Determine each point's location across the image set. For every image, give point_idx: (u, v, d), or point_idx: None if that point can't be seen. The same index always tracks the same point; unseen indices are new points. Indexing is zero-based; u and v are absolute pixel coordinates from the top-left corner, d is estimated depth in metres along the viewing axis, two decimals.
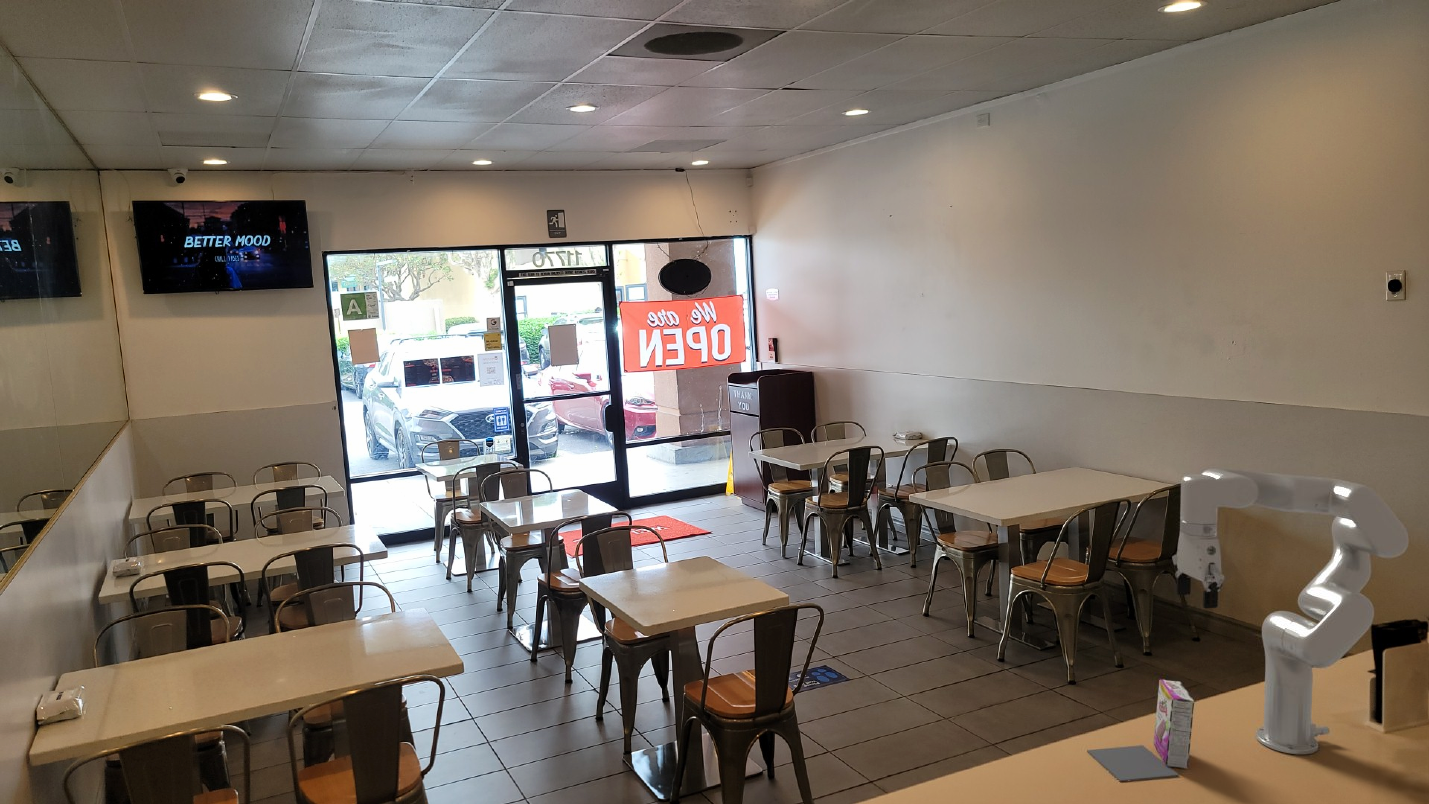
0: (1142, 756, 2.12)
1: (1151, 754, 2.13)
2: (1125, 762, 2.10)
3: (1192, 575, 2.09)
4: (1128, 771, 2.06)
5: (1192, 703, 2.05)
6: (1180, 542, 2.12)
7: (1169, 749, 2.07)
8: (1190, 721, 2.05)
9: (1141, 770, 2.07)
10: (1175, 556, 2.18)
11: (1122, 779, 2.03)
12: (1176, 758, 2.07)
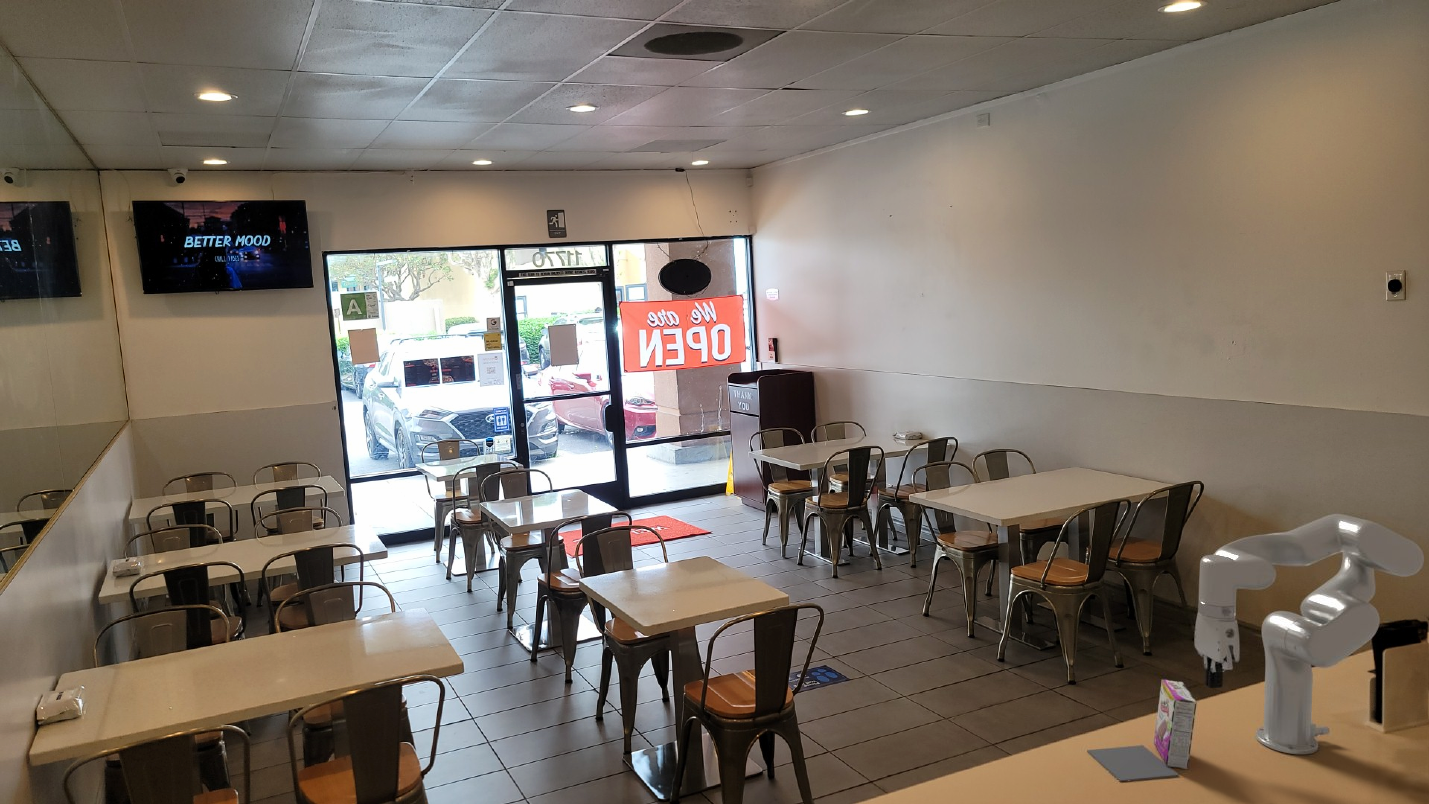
0: (1142, 756, 2.12)
1: (1151, 754, 2.13)
2: (1125, 762, 2.10)
3: (1210, 656, 2.09)
4: (1128, 771, 2.06)
5: (1194, 704, 2.05)
6: (1198, 622, 2.13)
7: (1170, 749, 2.07)
8: (1192, 722, 2.05)
9: (1141, 770, 2.07)
10: None
11: (1122, 779, 2.03)
12: (1176, 758, 2.07)
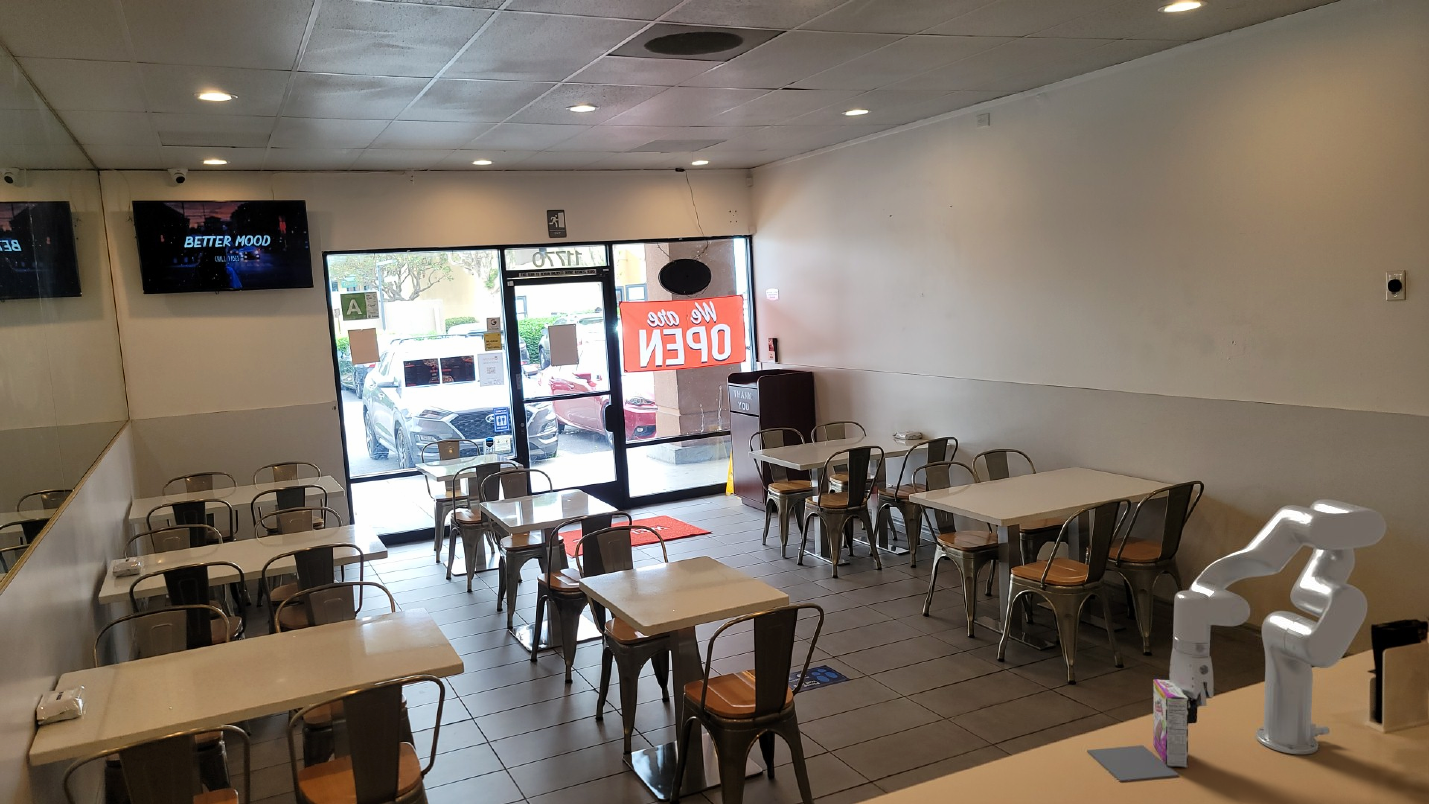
0: (1142, 756, 2.12)
1: (1151, 754, 2.13)
2: (1125, 762, 2.10)
3: (1184, 692, 2.10)
4: (1128, 771, 2.06)
5: (1186, 700, 2.05)
6: (1173, 657, 2.13)
7: (1168, 748, 2.07)
8: (1186, 718, 2.06)
9: (1141, 770, 2.07)
10: None
11: (1122, 779, 2.03)
12: (1175, 757, 2.07)
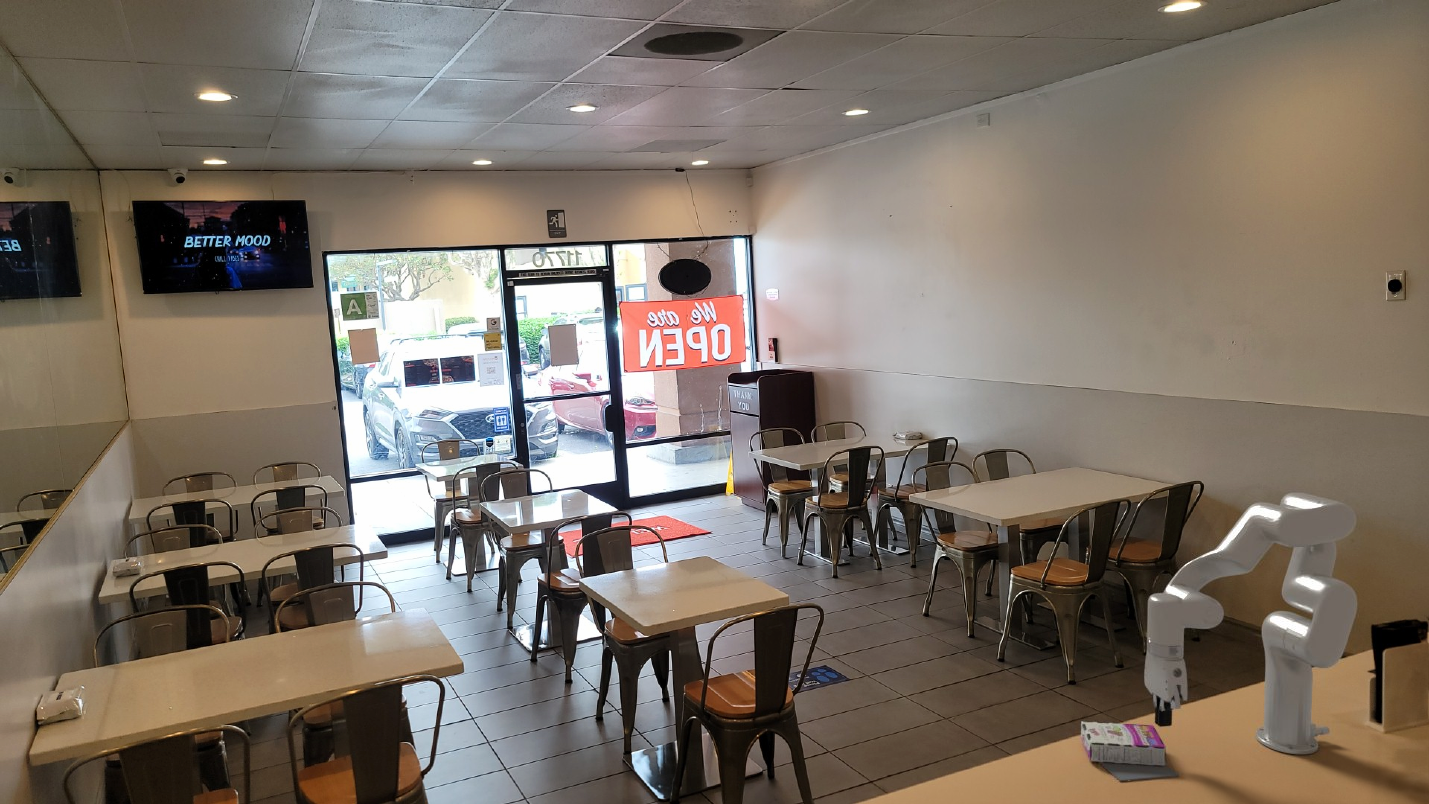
0: None
1: None
2: None
3: (1159, 695, 2.09)
4: (1128, 771, 2.06)
5: (1092, 744, 2.10)
6: (1147, 660, 2.12)
7: (1145, 763, 2.08)
8: (1112, 746, 2.09)
9: (1141, 770, 2.07)
10: None
11: (1122, 779, 2.03)
12: (1155, 757, 2.08)
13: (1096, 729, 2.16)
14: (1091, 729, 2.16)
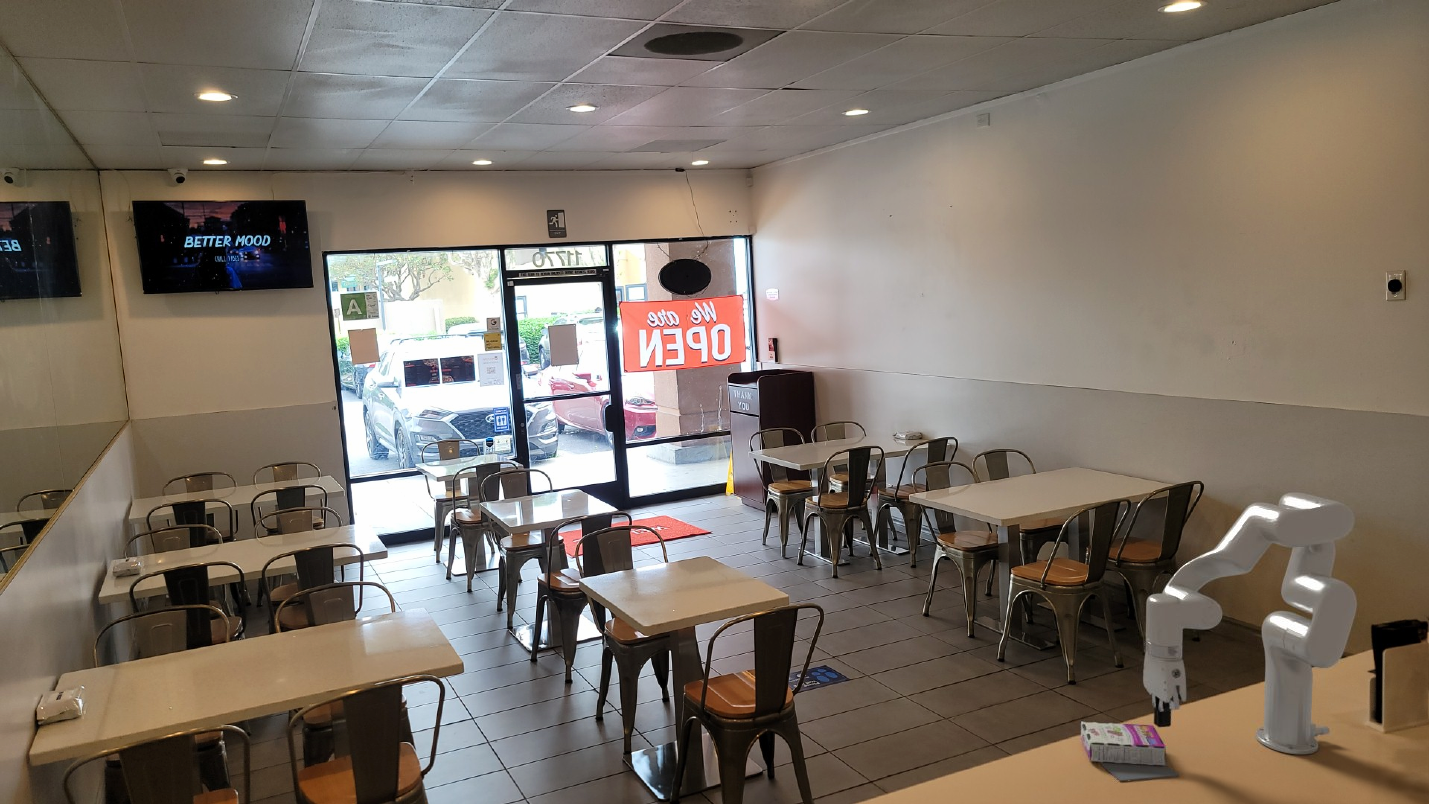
0: None
1: None
2: None
3: (1157, 696, 2.09)
4: (1128, 771, 2.06)
5: (1092, 744, 2.10)
6: (1146, 661, 2.12)
7: (1145, 763, 2.08)
8: (1112, 746, 2.09)
9: (1141, 770, 2.07)
10: None
11: (1122, 779, 2.03)
12: (1155, 757, 2.08)
13: (1096, 730, 2.16)
14: (1091, 729, 2.16)
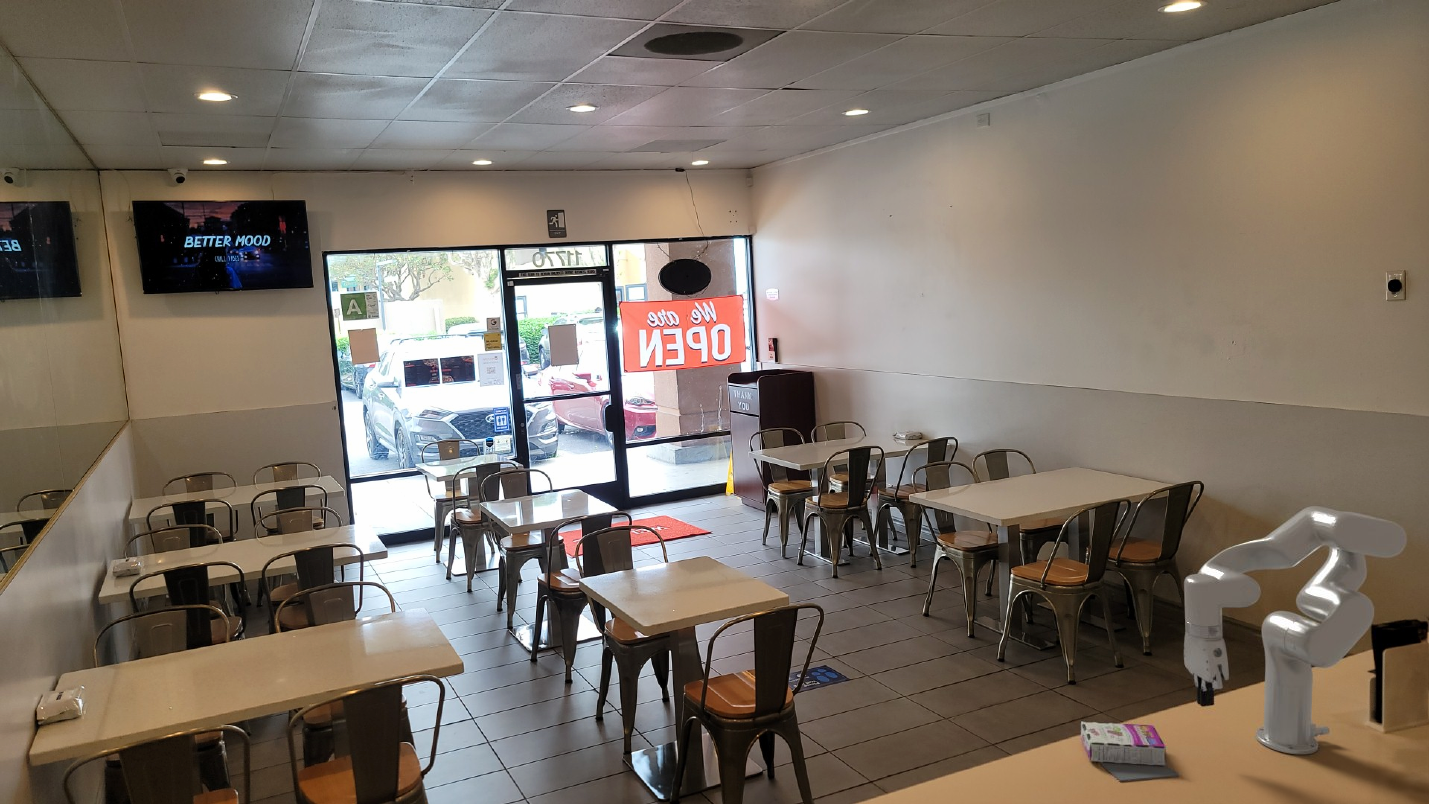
0: None
1: None
2: None
3: (1200, 675, 2.10)
4: (1128, 771, 2.06)
5: (1092, 744, 2.10)
6: (1186, 641, 2.13)
7: (1145, 763, 2.08)
8: (1112, 746, 2.09)
9: (1141, 770, 2.07)
10: None
11: (1122, 779, 2.03)
12: (1155, 757, 2.08)
13: (1096, 730, 2.16)
14: (1091, 729, 2.16)
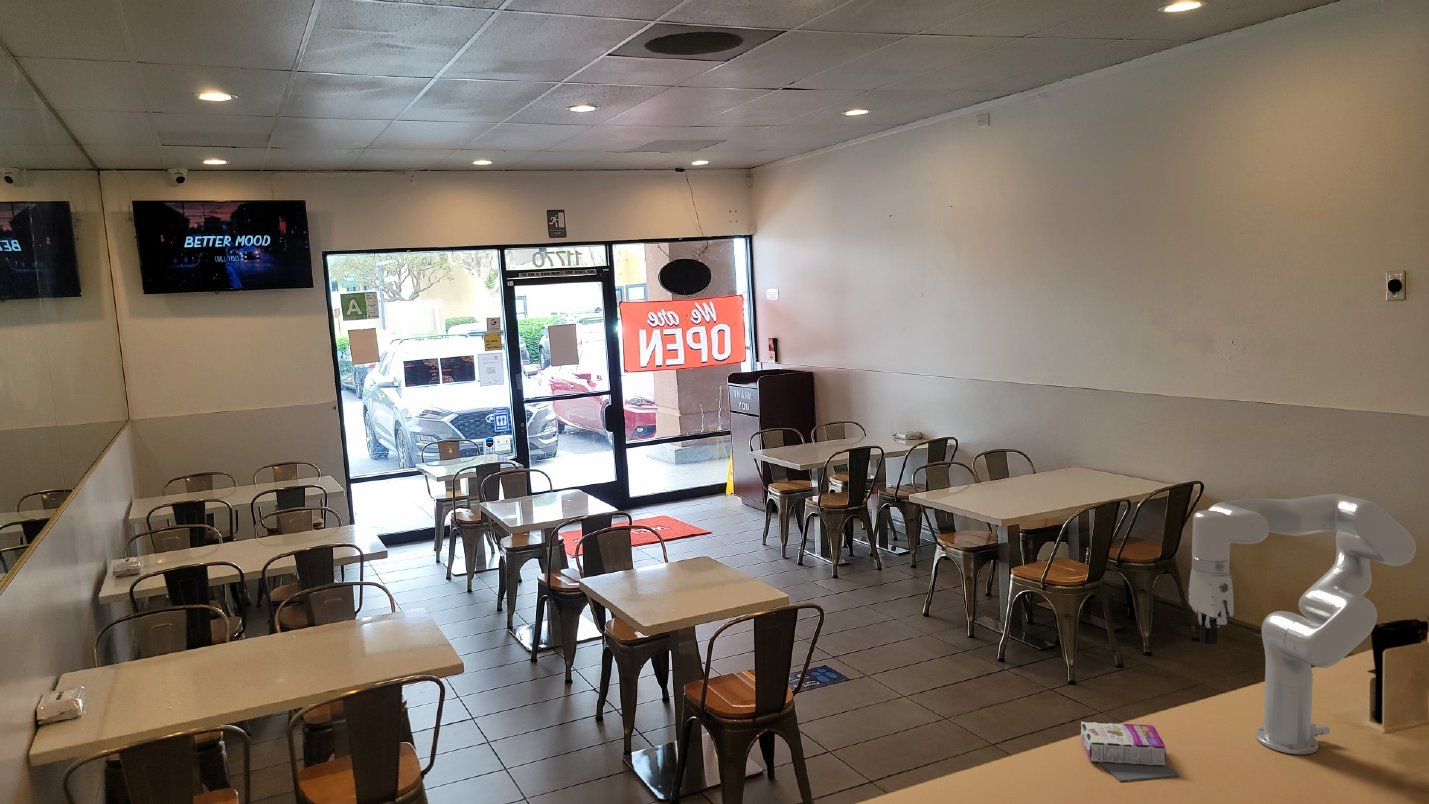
0: None
1: None
2: None
3: (1204, 612, 2.08)
4: (1128, 771, 2.06)
5: (1092, 744, 2.10)
6: (1192, 578, 2.12)
7: (1145, 763, 2.08)
8: (1112, 746, 2.09)
9: (1141, 770, 2.07)
10: None
11: (1122, 779, 2.03)
12: (1155, 757, 2.08)
13: (1096, 730, 2.16)
14: (1091, 729, 2.16)
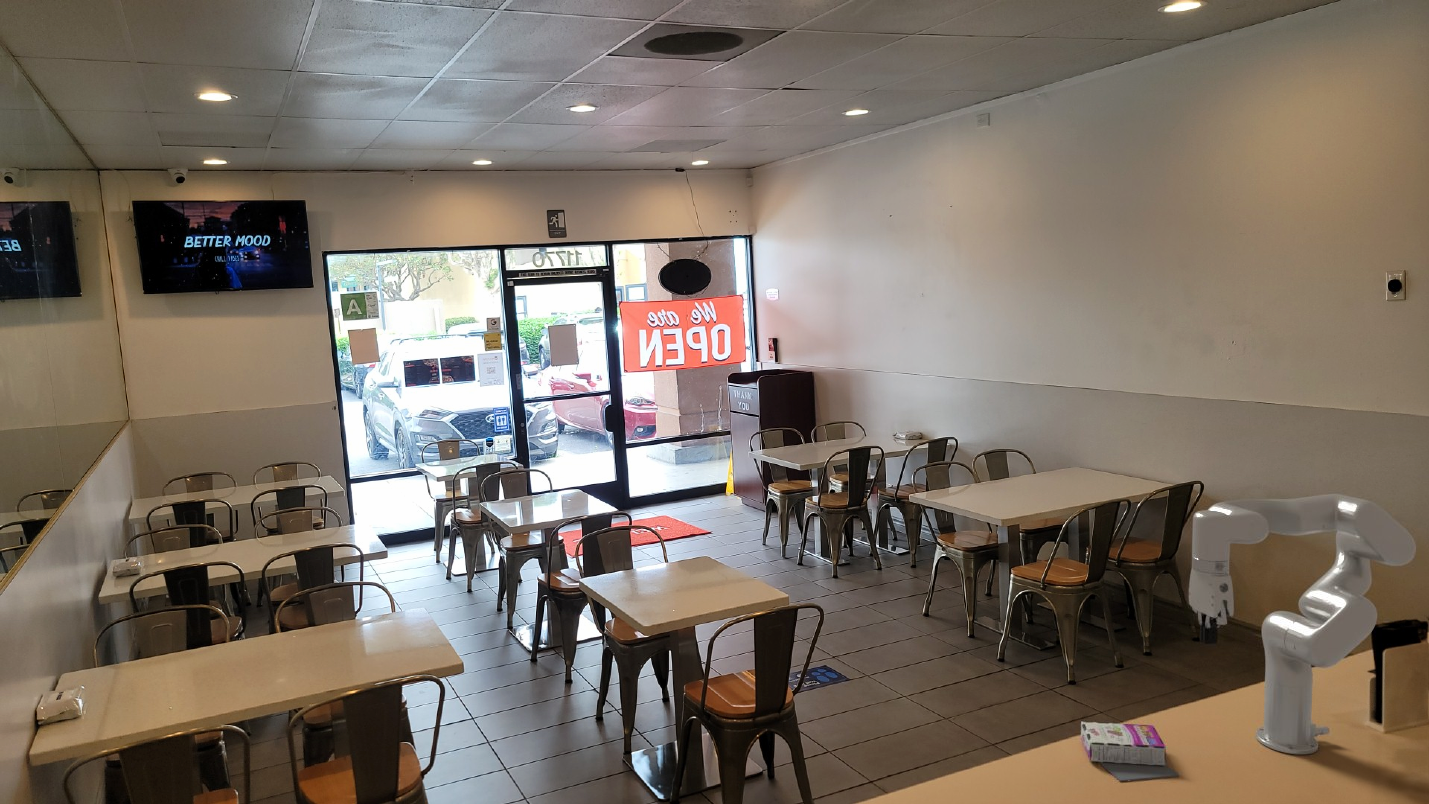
0: None
1: None
2: None
3: (1204, 612, 2.08)
4: (1128, 771, 2.06)
5: (1092, 744, 2.10)
6: (1192, 578, 2.12)
7: (1145, 763, 2.08)
8: (1112, 746, 2.09)
9: (1141, 770, 2.07)
10: None
11: (1122, 779, 2.03)
12: (1155, 757, 2.08)
13: (1096, 730, 2.16)
14: (1091, 729, 2.16)
